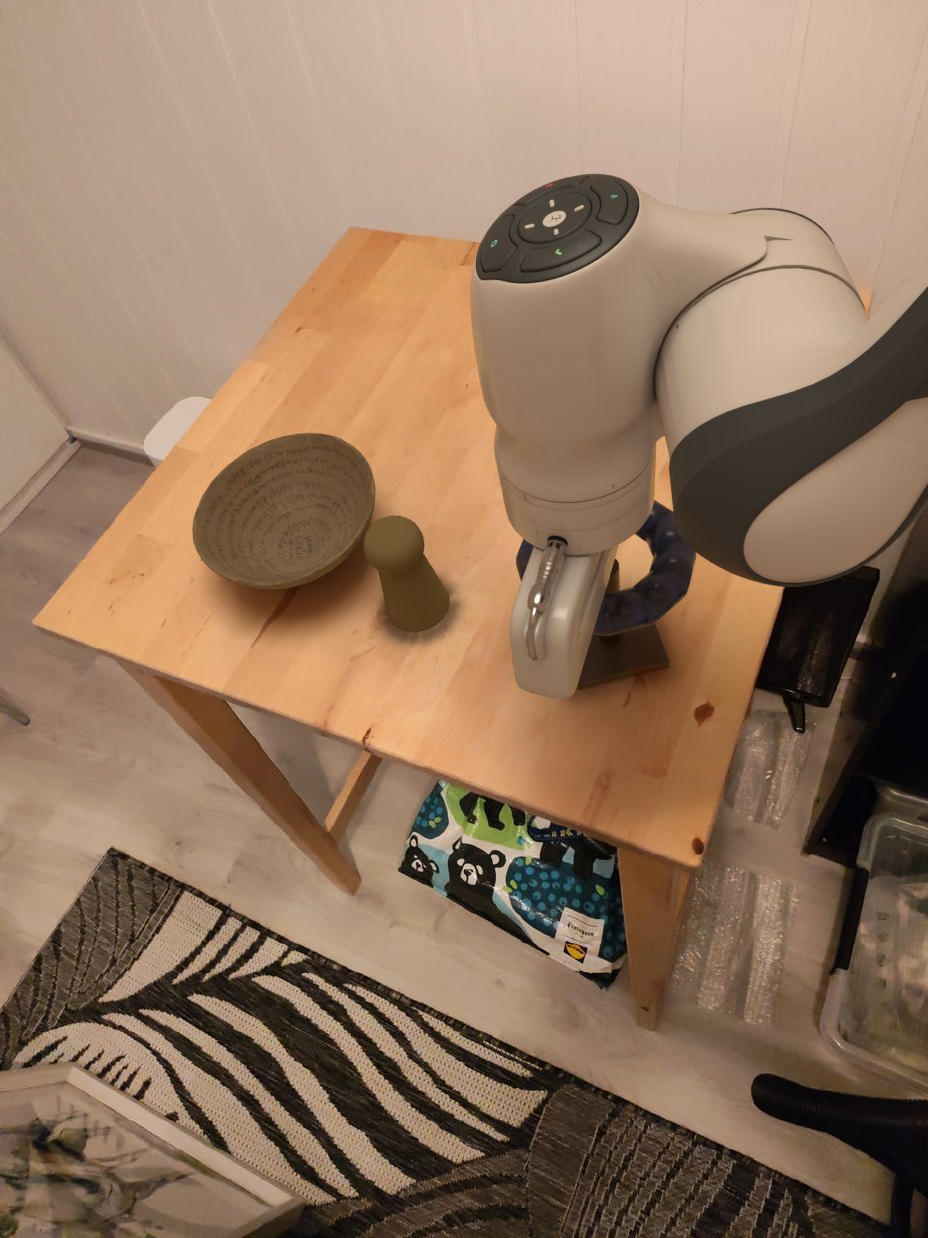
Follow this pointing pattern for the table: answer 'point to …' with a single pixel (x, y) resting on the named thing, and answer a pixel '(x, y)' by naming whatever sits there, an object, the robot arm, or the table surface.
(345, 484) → the bowl
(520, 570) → the ring
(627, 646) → the post
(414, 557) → the olive game pawn
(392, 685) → the table surface
